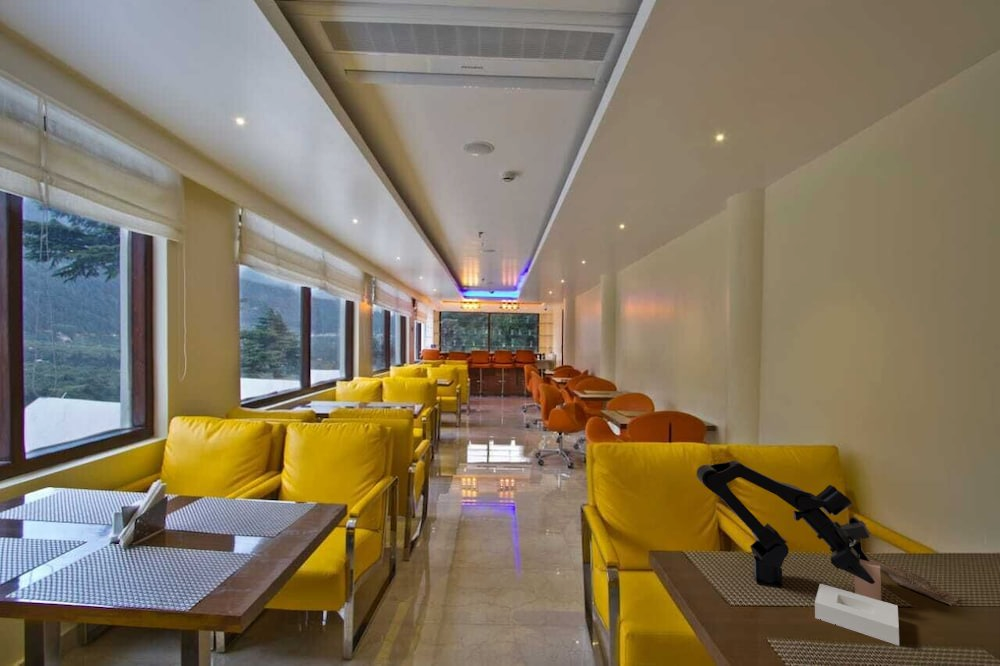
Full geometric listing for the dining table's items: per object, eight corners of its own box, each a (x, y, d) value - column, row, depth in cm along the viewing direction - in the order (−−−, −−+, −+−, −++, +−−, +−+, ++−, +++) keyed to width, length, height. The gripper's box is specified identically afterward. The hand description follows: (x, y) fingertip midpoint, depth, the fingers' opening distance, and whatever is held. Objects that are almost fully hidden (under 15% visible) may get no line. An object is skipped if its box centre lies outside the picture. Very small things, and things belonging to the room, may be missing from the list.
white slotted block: (815, 618, 112) (814, 602, 113) (820, 598, 121) (819, 583, 122) (899, 645, 102) (898, 628, 102) (898, 621, 111) (897, 605, 111)
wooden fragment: (973, 608, 117) (973, 604, 117) (931, 607, 118) (931, 603, 118) (891, 561, 143) (891, 558, 143) (856, 561, 143) (856, 557, 143)
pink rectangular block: (855, 598, 121) (853, 561, 122) (855, 593, 124) (854, 557, 124) (881, 606, 118) (880, 568, 118) (881, 601, 120) (880, 564, 120)
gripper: (844, 520, 117) (902, 575, 109) (849, 501, 131) (900, 550, 123) (809, 541, 122) (862, 596, 114) (817, 521, 136) (865, 569, 128)
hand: (873, 576), depth 120 cm, fingers open, 8 cm apart
